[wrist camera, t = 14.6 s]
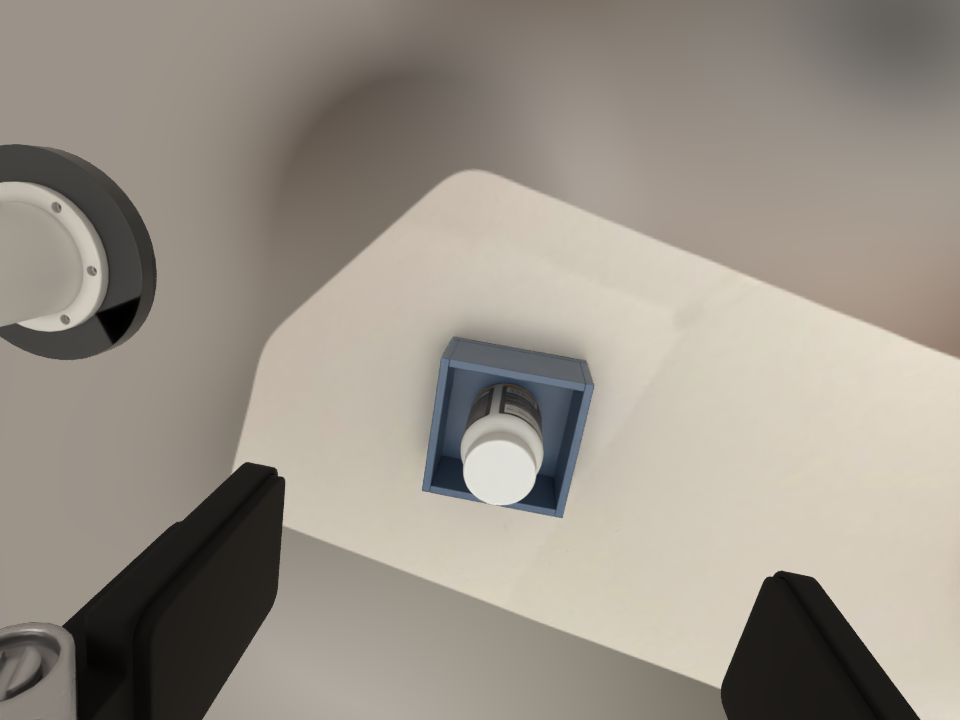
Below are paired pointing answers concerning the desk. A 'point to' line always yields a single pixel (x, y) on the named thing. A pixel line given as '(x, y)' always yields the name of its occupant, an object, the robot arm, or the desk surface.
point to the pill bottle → (502, 444)
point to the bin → (553, 386)
